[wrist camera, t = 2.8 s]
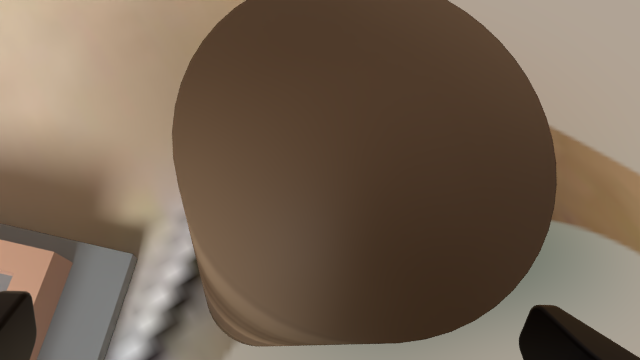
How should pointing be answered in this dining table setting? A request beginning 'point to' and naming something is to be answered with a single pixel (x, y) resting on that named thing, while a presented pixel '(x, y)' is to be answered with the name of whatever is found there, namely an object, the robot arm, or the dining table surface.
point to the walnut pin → (359, 170)
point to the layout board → (66, 290)
